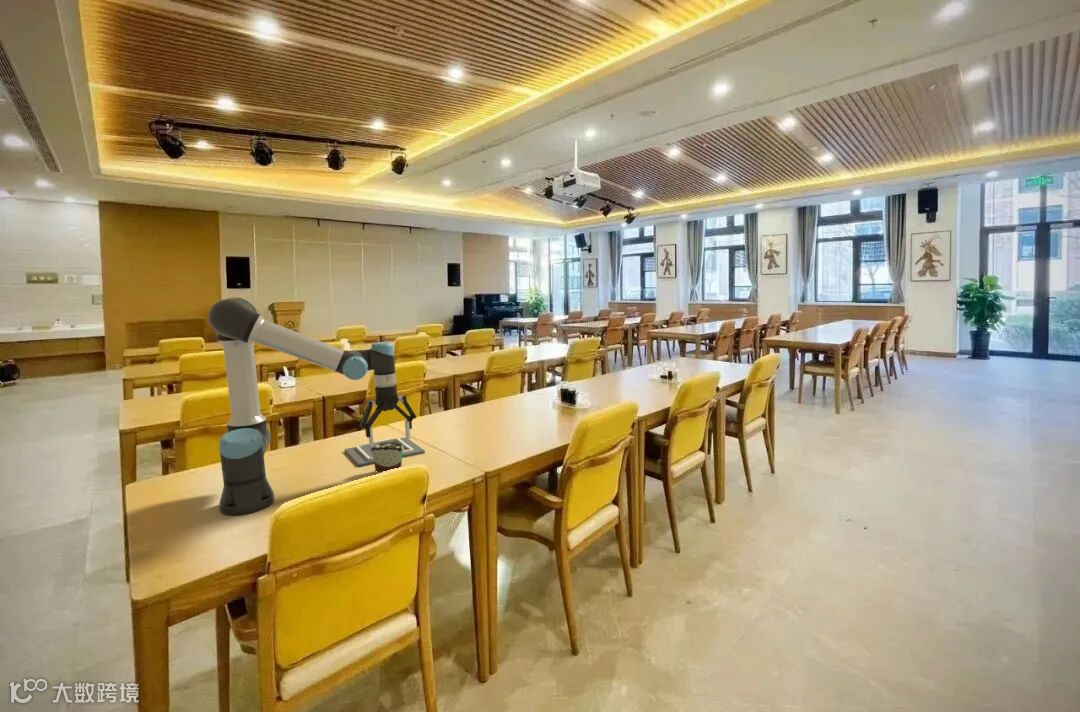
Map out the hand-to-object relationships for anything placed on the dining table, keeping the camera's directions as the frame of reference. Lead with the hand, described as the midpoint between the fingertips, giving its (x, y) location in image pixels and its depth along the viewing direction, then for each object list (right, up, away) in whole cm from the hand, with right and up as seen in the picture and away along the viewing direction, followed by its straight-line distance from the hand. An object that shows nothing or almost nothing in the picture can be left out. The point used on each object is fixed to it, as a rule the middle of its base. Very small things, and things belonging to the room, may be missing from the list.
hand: (390, 441), depth 193 cm
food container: (0, -11, +2) cm, 11 cm away
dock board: (-8, -8, +21) cm, 24 cm away
